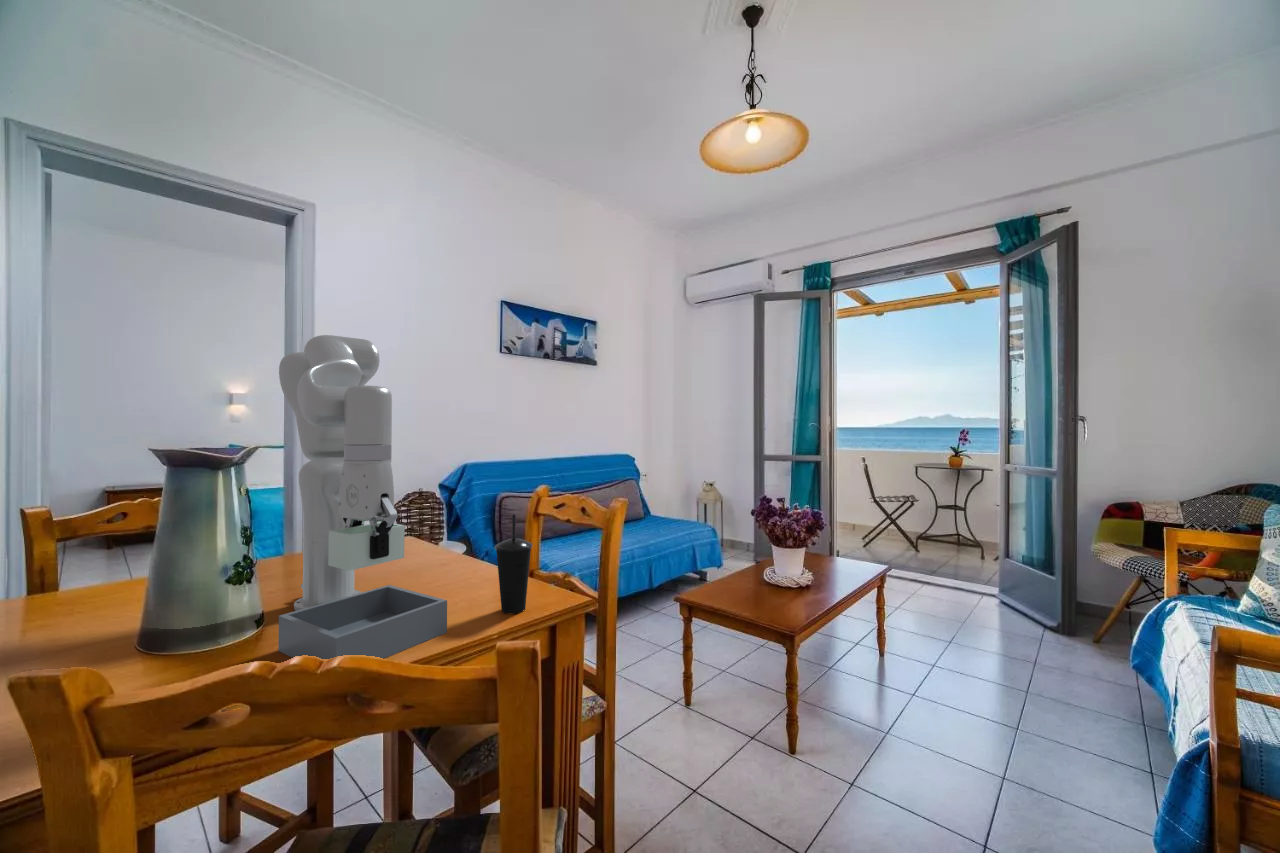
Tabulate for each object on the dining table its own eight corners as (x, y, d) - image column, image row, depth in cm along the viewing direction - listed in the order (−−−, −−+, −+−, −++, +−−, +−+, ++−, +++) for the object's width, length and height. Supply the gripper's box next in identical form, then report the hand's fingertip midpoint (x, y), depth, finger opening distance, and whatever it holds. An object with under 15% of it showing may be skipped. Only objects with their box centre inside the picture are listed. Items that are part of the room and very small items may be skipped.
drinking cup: (517, 601, 110) (517, 510, 110) (539, 609, 105) (539, 514, 106) (487, 610, 104) (487, 515, 105) (509, 619, 99) (509, 519, 100)
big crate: (278, 651, 85) (278, 615, 85) (389, 614, 102) (389, 584, 102) (335, 677, 76) (336, 638, 76) (446, 632, 93) (447, 600, 93)
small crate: (328, 565, 87) (328, 530, 87) (383, 553, 95) (383, 521, 95) (349, 570, 83) (349, 534, 83) (404, 557, 92) (404, 525, 92)
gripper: (320, 454, 91) (319, 553, 90) (376, 457, 82) (375, 566, 82) (361, 453, 97) (360, 545, 97) (417, 455, 88) (416, 556, 88)
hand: (367, 554), depth 89 cm, fingers closed on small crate, 6 cm apart
